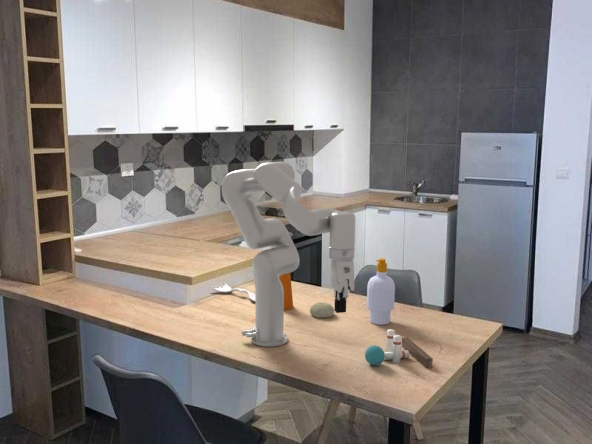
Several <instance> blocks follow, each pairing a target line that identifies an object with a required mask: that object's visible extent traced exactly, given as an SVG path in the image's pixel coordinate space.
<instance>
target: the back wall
mask: <svg viewBox="0 0 592 444" xmlns="http://www.w3.org/2000/svg"><path fill="white" fill-rule="evenodd" d="M401 348H403V350H408V351H409V355H411V356H412V357H413V358H414V360H416V361H417V362H418V363H420V364H421V365H422V366H423V367H424V368H425V369H432V368H433V362H434V361H433V360H434V359H433V357H431V356H430V355H429V354H428V353H427V352H426V351H424V350H423V349H422V348H421V347H420V346H419V345H417V344H416V343H415V342H414V341H413V340H411V339H410V338H409V337H401Z"/></svg>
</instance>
